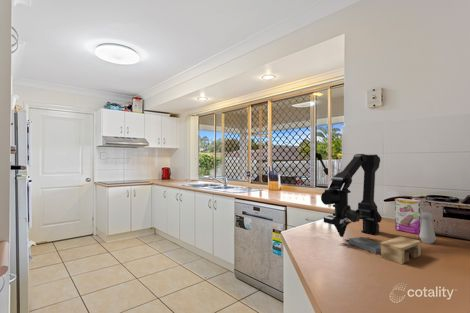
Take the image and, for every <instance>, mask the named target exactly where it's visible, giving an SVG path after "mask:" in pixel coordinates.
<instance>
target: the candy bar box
mask: <svg viewBox="0 0 470 313" xmlns="http://www.w3.org/2000/svg"><path fill="white" fill-rule="evenodd" d="M394 210H395V212H394V214H395V219H394V220H395V227H394V228H395V230H396V231H400V232H404V233H409V234H415V235H418V236H419V235H420V229H421V224H422V219H423V218H421V213H424V201H423V200H416V199H410V198H409V199H408V198H401V197H400V198H394Z"/></svg>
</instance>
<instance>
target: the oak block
mask: <svg viewBox="0 0 470 313" xmlns="http://www.w3.org/2000/svg"><path fill="white" fill-rule="evenodd" d="M380 244H381V253H380V258H381V259H384V260H387V261H389V262H390V261H391V262H394V263H396V264H400V265H403V264H406V263H407V262H409V261H410V258H412V259H416V258H418V257H421V240H418V239H414V238H409V237H404V236H401V235H400V236H397V237H394V238H391V239H388V240H385V241H382V242H380Z"/></svg>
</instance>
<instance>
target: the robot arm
mask: <svg viewBox="0 0 470 313" xmlns="http://www.w3.org/2000/svg"><path fill="white" fill-rule="evenodd" d="M380 163H381V157H380V156H379V155H378V154H365V153H356V154H354V155H353V157H352V159H351V160H350V161H349V162H348V163H347V165H345V167H344V168H343V169H342V171H340V172H337V173H336V174H335V175H334V176H333V177H332V178H331V181H330V183H329V185H328V187H327V188H326V189H325V188H324V192H322V193H321V196H320V199H321V202H322V203H323V204H324V205H325V206H328V205H332V208H334V213H332V215H325V216H324V217H323V223H325V224H328V225H329V224H330V225H333V226H334V227H335V229H336V231H337V232H338V235H339V236H340V237H341V238H344V235H345V233H346V229H347V227H348V225H350V224H351V223H356V222H360V220H362V230H361V231H360V232H361V233H365V234H369V235H373V236H374V235H377V234H381V232H380V224H379V223H381V222H382V219H383V218H382V216H381V214H380V213H379V211H378V206H377V204H376V202H375V187H376V186H375V185H376V184H375V182H376V172H377V170H378V169H379V168H380ZM360 167H361V168H362V169H363V191H362V200H361V202H358V203H357V209H356V210H355V209H351V205H349V195H348V194H350V193H351V191H350V190H349V188H350V187H351V184H352V182H353V177H354V175H355V174H356V173H357V171H359V169H360Z"/></svg>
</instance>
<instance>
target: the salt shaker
mask: <svg viewBox="0 0 470 313" xmlns="http://www.w3.org/2000/svg"><path fill="white" fill-rule="evenodd" d="M421 218H423V219H422V224H421V229H420V235H418V236H419V239H420V242H422V243H424V244H428V245H429V244H434V243H435V241H436V239H437V238H436V234H435V230H434V225H433V224H434V223H433V221H432V219H434V215H433V213H430V212H425V211H423V213H421Z"/></svg>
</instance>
